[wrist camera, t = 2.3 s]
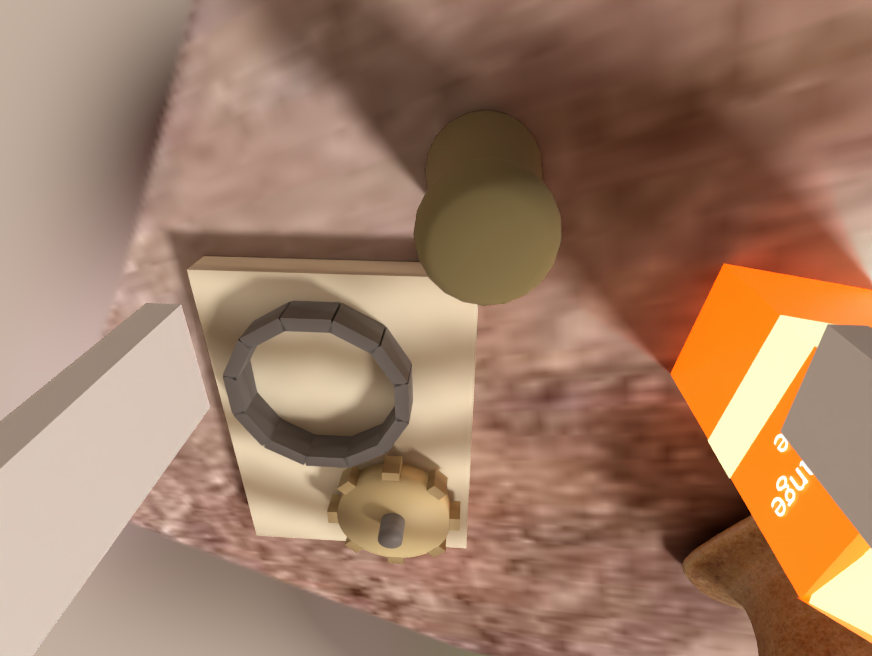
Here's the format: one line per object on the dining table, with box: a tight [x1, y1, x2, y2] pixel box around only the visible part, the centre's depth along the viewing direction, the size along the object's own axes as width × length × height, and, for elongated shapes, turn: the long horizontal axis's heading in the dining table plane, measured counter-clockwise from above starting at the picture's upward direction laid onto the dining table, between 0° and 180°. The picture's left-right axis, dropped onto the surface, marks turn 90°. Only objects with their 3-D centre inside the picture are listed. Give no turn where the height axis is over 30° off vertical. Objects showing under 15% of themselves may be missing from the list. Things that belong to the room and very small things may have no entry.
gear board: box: [187, 256, 478, 564], centre depth 32 cm, size 22×16×6 cm
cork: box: [414, 110, 562, 306], centre depth 21 cm, size 6×6×11 cm
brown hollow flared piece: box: [682, 515, 872, 656], centre depth 31 cm, size 15×12×15 cm
